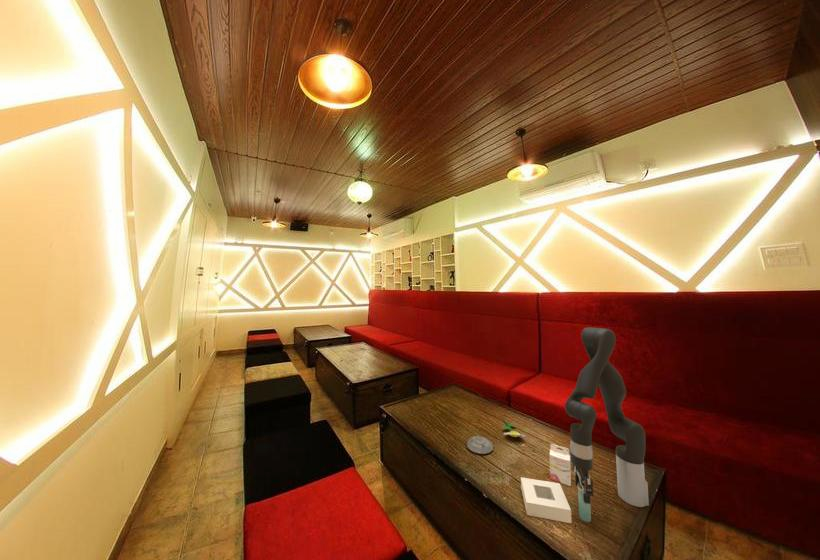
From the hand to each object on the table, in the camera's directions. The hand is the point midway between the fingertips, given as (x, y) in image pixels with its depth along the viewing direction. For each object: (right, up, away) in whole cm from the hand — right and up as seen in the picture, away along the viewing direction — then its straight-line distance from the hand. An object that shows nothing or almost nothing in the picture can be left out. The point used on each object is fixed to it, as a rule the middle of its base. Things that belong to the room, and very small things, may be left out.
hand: (582, 494), depth 101 cm
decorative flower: (-5, -12, +61) cm, 62 cm away
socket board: (-12, -9, +6) cm, 17 cm away
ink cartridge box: (+3, -10, +20) cm, 22 cm away
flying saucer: (-29, -12, +45) cm, 55 cm away
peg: (+1, -9, -1) cm, 9 cm away
